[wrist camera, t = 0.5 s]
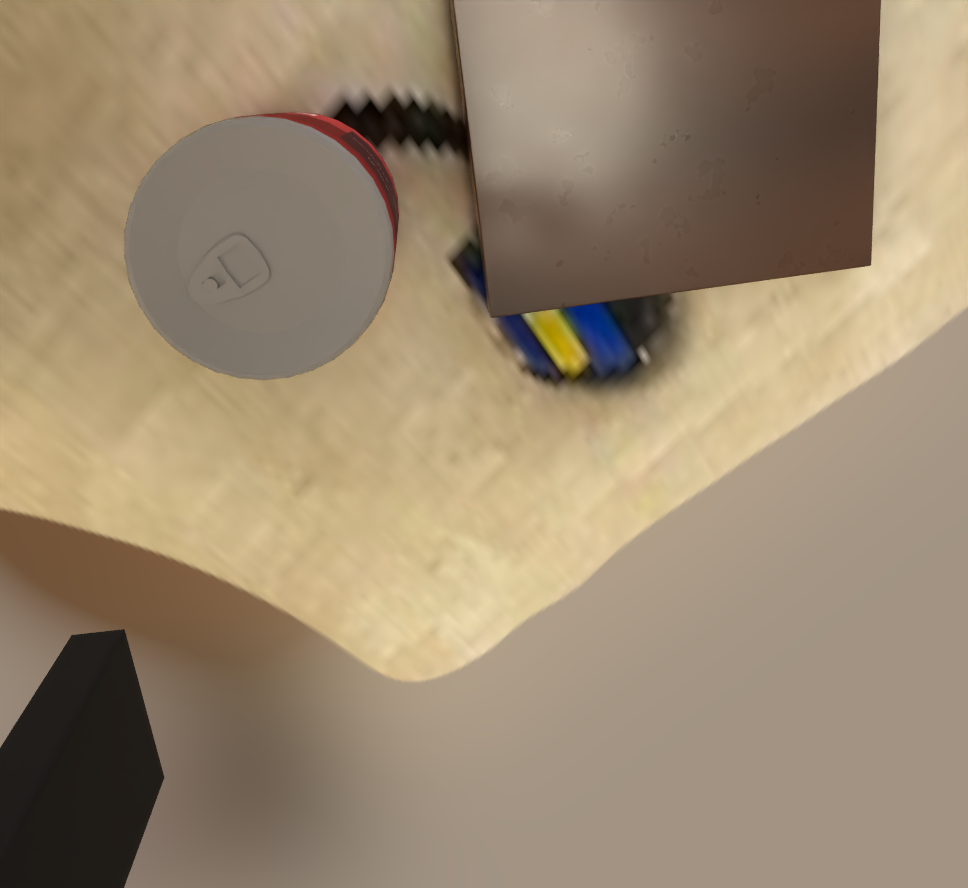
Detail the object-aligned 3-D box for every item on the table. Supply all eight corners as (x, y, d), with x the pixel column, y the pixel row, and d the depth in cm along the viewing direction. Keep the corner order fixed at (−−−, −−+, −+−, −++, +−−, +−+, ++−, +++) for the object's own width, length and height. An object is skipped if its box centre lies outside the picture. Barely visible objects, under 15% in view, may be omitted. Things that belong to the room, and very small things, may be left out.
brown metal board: (442, -59, 33) (443, -67, 32) (862, -112, 34) (886, -123, 32) (487, 308, 39) (490, 318, 37) (851, 258, 39) (871, 266, 37)
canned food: (165, 222, 36) (67, 271, 26) (288, 64, 34) (235, 50, 24) (315, 344, 38) (279, 433, 28) (438, 201, 37) (447, 241, 26)
